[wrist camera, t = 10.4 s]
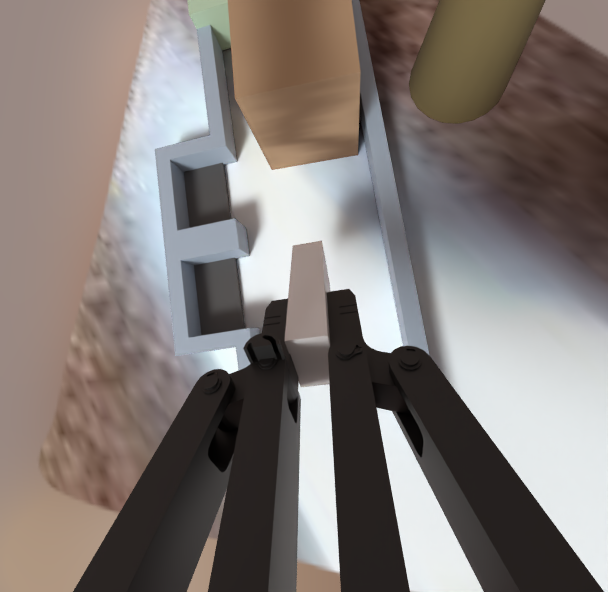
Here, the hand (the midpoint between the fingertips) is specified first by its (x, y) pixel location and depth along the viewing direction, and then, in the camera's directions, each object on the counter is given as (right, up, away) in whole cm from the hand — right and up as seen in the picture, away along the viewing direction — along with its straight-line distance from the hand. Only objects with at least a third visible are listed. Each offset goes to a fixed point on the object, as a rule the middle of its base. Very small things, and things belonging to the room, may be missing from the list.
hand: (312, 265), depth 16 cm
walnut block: (0, +12, +6) cm, 14 cm away
